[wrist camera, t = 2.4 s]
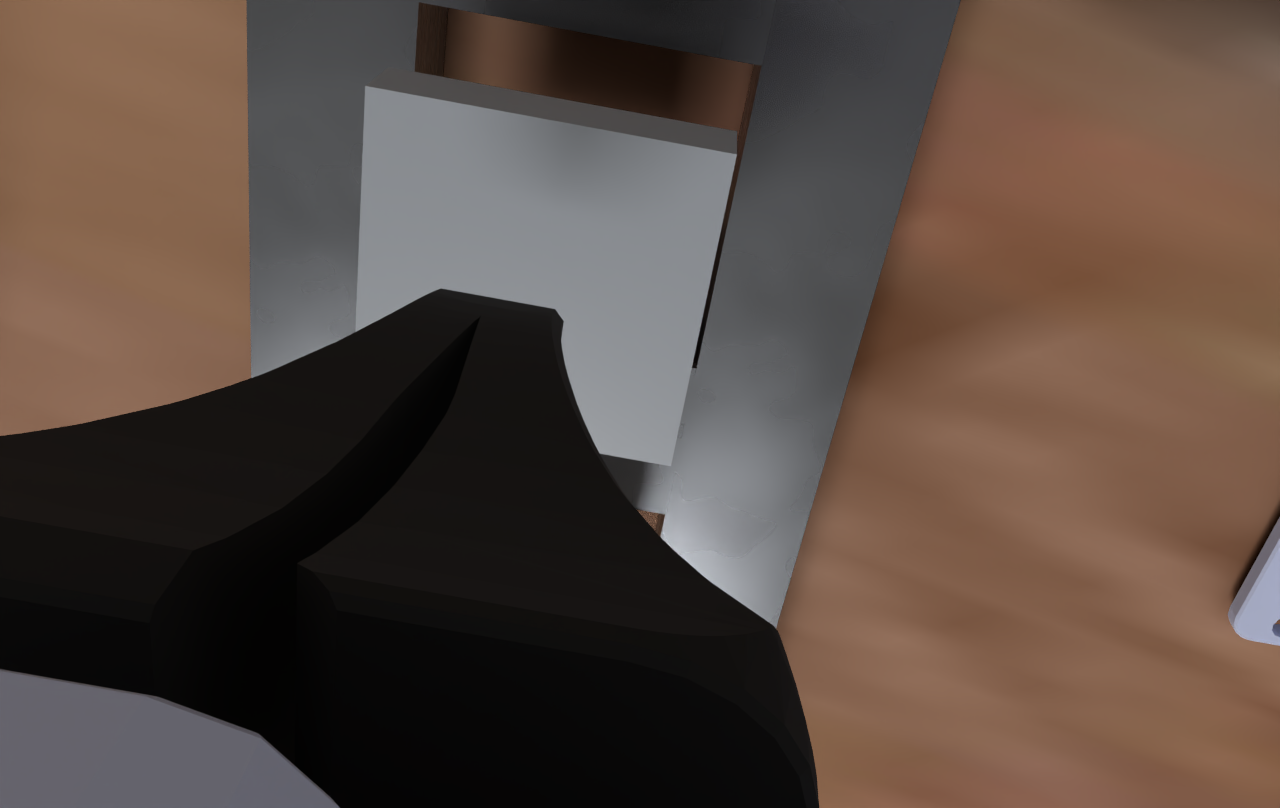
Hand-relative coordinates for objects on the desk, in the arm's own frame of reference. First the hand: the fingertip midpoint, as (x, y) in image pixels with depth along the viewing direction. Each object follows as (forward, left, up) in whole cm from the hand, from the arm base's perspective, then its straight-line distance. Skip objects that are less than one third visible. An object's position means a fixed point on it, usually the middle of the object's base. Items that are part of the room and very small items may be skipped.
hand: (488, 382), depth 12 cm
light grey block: (0, 0, -6) cm, 6 cm away
